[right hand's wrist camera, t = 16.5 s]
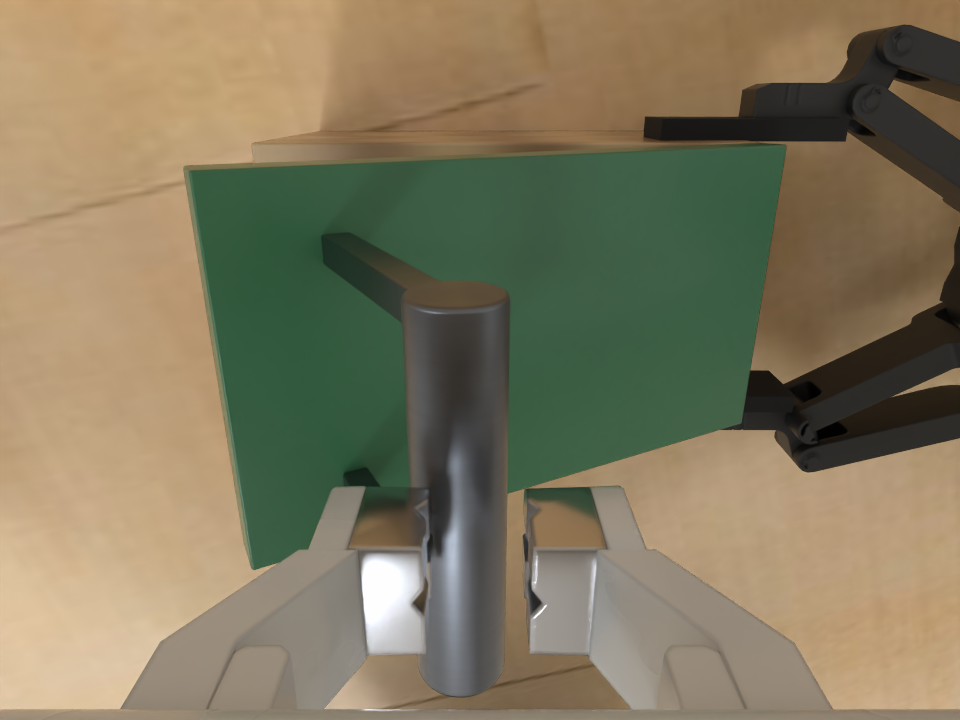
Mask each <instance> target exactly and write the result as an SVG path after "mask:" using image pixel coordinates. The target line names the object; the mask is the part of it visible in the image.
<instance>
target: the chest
mask: <svg viewBox="0 0 960 720" xmlns="http://www.w3.org/2000/svg"><path fill="white" fill-rule="evenodd" d="M643 135H644V131H318V132H312V133H307V134H301V135H295V136H290V137H284V138H278V139H273V140H267V141H261V142H256V143H253V144H252V152H253V160H254V163H266V162H291V161H316V160H341V159H365V158H390V157H415V156H440V155H465V154H490V153H515V152H540V151H565V150H590V149H615V148H640V147H665V146H690V145H715V144H740V143H759V142H753V141H746V140H734V141H660V140H656V139H651V138H647V137H643Z"/></svg>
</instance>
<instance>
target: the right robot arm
mask: <svg viewBox="0 0 960 720" xmlns="http://www.w3.org/2000/svg"><path fill="white" fill-rule="evenodd" d="M523 512H524V523H525V534H524V535H523V586H524V598H526V599H527V612H526V621H527V631H528V641H529V651H530V654H546V655H582V656H589V659H590V661H591V662H592V663H593V664H594V665H595V666H596V668H597V669H598V670H599V671H600V672H601V674H602V675H603V676H604V677H605V678H606V679H607V681H608V682H609V683H610V684H611V685H612V686H613V688H614V689H615V690H616V691H617V692H618V694H619V695H620V696H621V697H622V698H623V699H624V701H625V702H626V703H627V704H628V705H629V707H630V708H631V709H324V708H325V707H326V706H327V705H328V703H329V702H330V701H331V700H332V699H333V698H334V696H335V695H336V694H337V693H338V692H339V691H340V689H341V688H342V687H343V686H344V685H345V684H346V683H347V681H348V680H349V679H350V678H351V677H352V676H353V674H354V673H355V672H356V671H357V670H358V669H359V667H360V666H361V665H362V664H363V663H364V662H365V660H366V659H367V657H366V656H373V655H408V654H426V646H427V637H428V628H429V599H430V598H431V597H432V586H433V566H434V547H433V535H432V534H431V533H430V531H431V522H432V493H431V488H419V487H369V486H368V487H366V486H336V487H335V488H333V489H332V490H331V492H330V495H329V497H328V500H327V503H326V505H325V508H324V510H323V513H322V515H321V518H320V521H319V523H318V526H317V528H316V531H315V533H314V536H313V539H312V541H311V544H310V546H309V549H308V550H298V551H296V552H295V553H293V554H292V555H290V556H289V557H287V558H286V559H284V560H283V561H281V562H280V563H278V564H277V565H275V566H274V567H272V568H271V569H269V570H268V571H266V572H265V573H263V574H262V575H260V576H259V577H257V578H256V579H254V580H253V581H251V582H250V583H248V584H247V585H245V586H244V587H242V588H241V589H239V590H238V591H236V592H235V593H233V594H232V595H230V596H229V597H227V598H226V599H224V600H223V601H221V602H220V603H218V604H217V605H215V606H214V607H212V608H211V609H209V610H208V611H206V612H205V613H203V614H202V615H200V616H199V617H197V618H196V619H194V620H193V621H191V622H190V623H188V624H187V625H185V626H184V627H182V628H181V629H179V630H178V631H176V632H175V633H173V634H172V635H170V636H169V637H167V638H166V639H164V640H163V641H161V642H160V643H159V645H158V647H157V648H156V650H155V652H154V653H153V655H152V657H151V658H150V660H149V662H148V663H147V665H146V667H145V669H144V670H143V672H142V674H141V675H140V677H139V679H138V680H137V682H136V684H135V685H134V687H133V689H132V690H131V692H130V694H129V695H128V697H127V699H126V700H125V702H124V704H123V705H122V707H121V709H0V720H960V709H833V708H832V707H831V705H830V703H829V702H828V700H827V698H826V696H825V695H824V693H823V691H822V690H821V688H820V686H819V684H818V683H817V681H816V679H815V678H814V676H813V674H812V672H811V671H810V669H809V667H808V665H807V664H806V662H805V660H804V659H803V657H802V655H801V653H800V652H799V650H798V648H797V647H796V645H795V643H794V642H792V641H791V640H789V639H788V638H786V637H785V636H783V635H782V634H780V633H779V632H777V631H776V630H774V629H773V628H771V627H770V626H768V625H767V624H765V623H764V622H763V621H761V620H760V619H758V618H757V617H755V616H754V615H752V614H751V613H749V612H748V611H746V610H745V609H743V608H742V607H740V606H739V605H737V604H736V603H734V602H733V601H731V600H730V599H728V598H727V597H726V596H724V595H723V594H721V593H720V592H718V591H717V590H715V589H714V588H712V587H711V586H709V585H708V584H706V583H705V582H703V581H702V580H700V579H699V578H697V577H696V576H694V575H693V574H691V573H690V572H688V571H687V570H686V569H684V568H683V567H681V566H680V565H678V564H677V563H675V562H674V561H672V560H671V559H669V558H668V557H666V556H665V555H663V554H662V553H660V552H659V551H657V550H647V549H646V546H645V544H644V541H643V538H642V536H641V533H640V530H639V528H638V525H637V523H636V520H635V517H634V515H633V512H632V510H631V507H630V504H629V502H628V499H627V496H626V494H625V491H624V489H623V488H622V487H621V486H602V487H574V488H534V489H525V492H524V511H523Z"/></svg>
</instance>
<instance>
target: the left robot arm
mask: <svg viewBox="0 0 960 720" xmlns="http://www.w3.org/2000/svg"><path fill="white" fill-rule="evenodd" d="M847 57H848V60H847V62H846V64H845V66H844V67H843V69H842V71H841V72H840V74H839V75H838V76H837V77H836V78H835V79H833V80H832V81H830V82H828V83H766V84H756V85H753V86H751V87H748V88H746V89H744V90H742V97H741V105H740V112H739V117H645V124H644V135H643V137H647V138H651V139H656V140H660V141H734V140H746V141H846V136H847V132H849V133H850V134H852V135H853V136H854V137H856V138H857V139H859V140H860V141H862V142H863V143H865V144H866V145H868V146H869V147H871V148H872V149H873V150H875V151H876V152H878V153H879V154H881V155H882V156H884V157H885V158H887V159H888V160H890V161H891V162H892V163H894V164H895V165H897V166H898V167H900V168H901V169H903V170H904V171H906V172H907V173H908V174H910V175H911V176H913V177H914V178H916V179H917V180H919V181H920V182H922V183H923V184H925V185H926V186H927V187H929V188H930V189H932V190H933V191H935V192H936V193H938V194H939V195H941V196H942V197H943V201H944V202H945V203H947V204H948V205H950V206H951V207H953V208H954V209H956V210H957V211H958V212H960V140H958V139H957V138H955V137H954V136H953V135H951V134H950V133H948V132H947V131H946V130H944V129H943V128H941V127H940V126H939V125H937V124H936V123H934V122H933V121H932V120H930V119H929V118H927V117H926V116H925V115H923V114H922V113H920V112H919V111H917V110H916V109H915V108H913V107H912V106H910V105H909V104H908V103H906V102H905V101H903V100H902V99H901V98H899V97H898V96H896V95H895V94H894V93H892V92H891V91H889V90H888V88H889V86H890V85H891V83H892V81H893V80H896V81H899V82H902V83H905V84H908V85H911V86H914V87H917V88H920V89H923V90H926V91H929V92H932V93H935V94H938V95H941V96H944V97H947V98H950V99H953V100H956V101H959V102H960V42H958V41H955V40H952V39H949V38H946V37H943V36H941V35H938V34H935V33H932V32H929V31H926V30H923V29H920V28H917V27H914V26H911V25H900V26H894V27H889V28H884V29H878V30H873V31H867V32H863V33H860V34H858V35H857V36H856V37H854V38H853V39H852V41H851V42H850V44H849V46H848V50H847ZM940 301H942V303H940V304H938V305H935V306H933V307H931V308H929V309H927V310H925V311H923V312H921V313H919V314H917V315H915V316H914V317H913V318H912V323H911V324H909V325H908V326H906V327H904V328H902V329H899V330H897V331H895V332H893V333H891V334H889V335H887V336H885V337H883V338H880V339H878V340H876V341H874V342H872V343H870V344H868V345H866V346H863V347H861V348H859V349H857V350H855V351H853V352H851V353H849V354H847V355H844V356H842V357H840V358H838V359H836V360H834V361H832V362H830V363H828V364H825V365H823V366H821V367H819V368H817V369H815V370H813V371H811V372H809V373H806V374H804V375H802V376H800V377H798V378H796V379H794V380H792V381H790V382H787V383H785V384H782V383H781V382H780V381H779V380H778V379H777V378H776V377H775V376H774V375H773V374H772V373H771V372H770V371H750V374H749V380H748V386H747V392H746V399H745V405H744V411H743V417H742V422H741V424H737V425H734V426H731V427H727V428H724V429H721V430H732V429H733V430H741V429H743V430H776V431H775V439H776V441H777V443H778V444H779V445H780V446H781V447H782V448H783V449H784V451H785V452H786V453H787V454H788V455H789V456H790V458H791V459H792V460H793V461H794V462H795V463H796V465H797V466H798V467H799V468H800V469H801V470H802V471H805V472H816V471H820V470H824V469H829V468H833V467H837V466H841V465H846V464H850V463H854V462H859V461H863V460H867V459H872V458H876V457H880V456H885V455H889V454H893V453H898V452H902V451H906V450H911V449H915V448H919V447H923V446H928V445H932V444H936V443H941V442H945V441H949V440H954V439H958V438H960V385H946V386H938V387H933V388H928V389H924V390H920V391H916V392H911V393H907V394H903V395H899V396H895V397H892V396H894V395H896V394H899V393H901V392H903V391H905V390H907V389H910V388H912V387H914V386H916V385H918V384H921V383H923V382H925V381H927V380H929V379H932V378H934V377H936V376H938V375H940V374H943V373H945V372H947V371H949V370H951V369H954V368H959V367H960V227H959V230H958V234H957V237H956V241H955V245H954V266H953V268H952V270H951V271H950V273H949V275H948V277H947V279H946V281H945V282H944V286H943V289H942V293H941V297H940ZM890 397H891V398H890Z"/></svg>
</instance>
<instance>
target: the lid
mask: <svg viewBox="0 0 960 720" xmlns="http://www.w3.org/2000/svg"><path fill="white" fill-rule="evenodd" d="M786 147H787V146H786V145H782V144H766V143H740V144H715V145H690V146H665V147H640V148H615V149H590V150H565V151H540V152H515V153H490V154H465V155H440V156H415V157H390V158H365V159H341V160H316V161H291V162H266V163H241V164H216V165H191V166H184V168H183V170H184V176H185V182H186V189H187V195H188V201H189V207H190V213H191V219H192V226H193V232H194V238H195V244H196V250H197V256H198V263H199V269H200V275H201V281H202V287H203V294H204V300H205V306H206V312H207V318H208V324H209V331H210V337H211V343H212V349H213V355H214V361H215V368H216V374H217V380H218V386H219V392H220V398H221V405H222V411H223V417H224V423H225V429H226V435H227V442H228V448H229V454H230V460H231V466H232V473H233V479H234V485H235V491H236V497H237V503H238V510H239V516H240V522H241V528H242V534H243V540H244V545H245V549H246V552H247V555H248V558H249V562H250V565H251V568H252V569H253V570H256V569H259V568H262V567H266V566H269V565H272V564H276V563H279V562H281V561H283V560H284V559H286V558H287V557H289V556H290V555H292V554H293V553H295V552H296V551H298V550H308V549H309V546H310V544H311V541H312V539H313V536H314V533H315V531H316V528H317V526H318V523H319V521H320V518H321V515H322V513H323V510H324V508H325V505H326V503H327V500H328V497H329V495H330V492H331V490H332V489H333V488H335V487H336V486H366V487H368V486H369V487H419V488H431V493H432V522H431V531H430V533H431V534H432V535H433V547H434V566H433V586H432V597H431V598H430V599H429V628H428V637H427V646H426V654H418V668H419V672H420V674H421V676H422V678H423V679H424V681H425V682H426V683H427V684H428V685H429V686H430V687H431V688H432V689H434V690H435V691H437V692H439V693H441V694H443V695H446V696H451V697H470V696H474V695H477V694H480V693H482V692H484V691H486V690H487V689H489V688H490V687H491V686H492V685H493V684H494V683H495V682H496V681H497V680H498V678H499V677H500V675H501V673H502V671H503V668H504V661H505V600H506V540H507V494H508V493H511V492H515V491H518V490H521V489H525V488H528V487H531V486H535V485H538V484H541V483H545V482H548V481H551V480H555V479H558V478H561V477H565V476H568V475H571V474H575V473H578V472H581V471H585V470H588V469H591V468H594V467H598V466H601V465H604V464H608V463H611V462H614V461H618V460H621V459H624V458H628V457H631V456H634V455H638V454H641V453H644V452H648V451H651V450H654V449H658V448H661V447H664V446H668V445H671V444H674V443H677V442H681V441H684V440H687V439H691V438H694V437H697V436H701V435H704V434H707V433H711V432H714V431H717V430H721V429H724V428H727V427H731V426H734V425H737V424H741V422H742V417H743V411H744V405H745V399H746V392H747V386H748V380H749V374H750V368H751V362H752V356H753V350H754V343H755V337H756V331H757V325H758V319H759V313H760V307H761V301H762V294H763V288H764V282H765V276H766V270H767V264H768V258H769V251H770V245H771V239H772V233H773V227H774V221H775V215H776V209H777V202H778V196H779V190H780V184H781V178H782V172H783V166H784V160H785V153H786Z"/></svg>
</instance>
